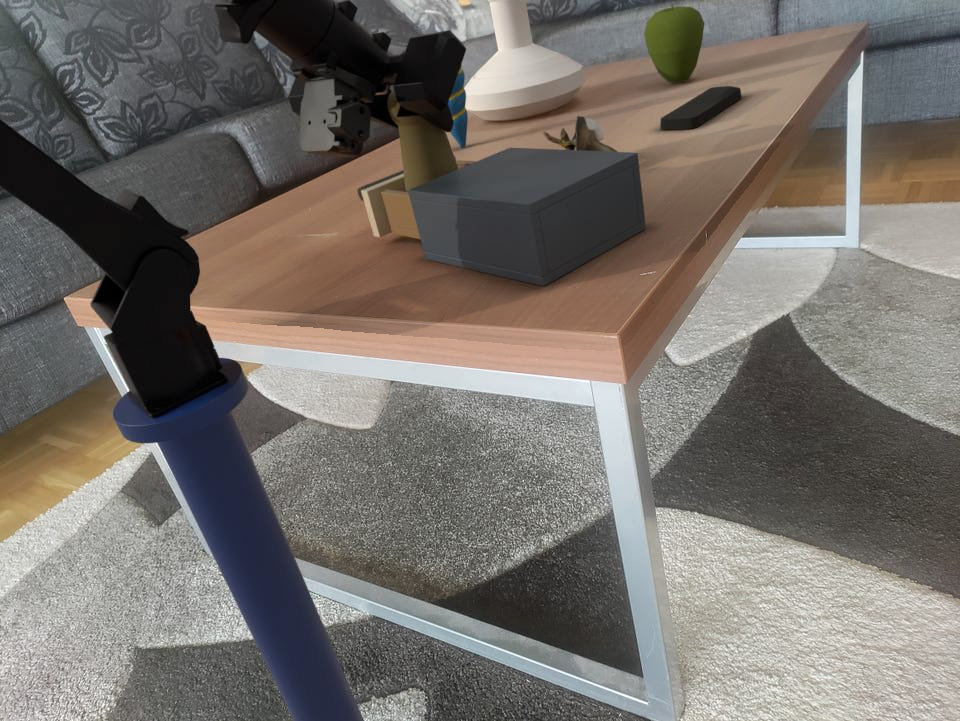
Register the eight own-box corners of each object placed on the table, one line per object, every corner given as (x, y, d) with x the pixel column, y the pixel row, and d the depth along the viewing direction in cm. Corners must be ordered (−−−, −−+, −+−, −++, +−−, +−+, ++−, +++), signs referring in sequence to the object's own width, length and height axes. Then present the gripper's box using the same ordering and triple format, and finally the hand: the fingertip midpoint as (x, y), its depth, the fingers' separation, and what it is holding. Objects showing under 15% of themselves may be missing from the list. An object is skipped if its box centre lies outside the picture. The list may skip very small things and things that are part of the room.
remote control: (695, 133, 91) (744, 96, 100) (694, 118, 90) (743, 82, 99) (658, 134, 94) (708, 98, 103) (656, 120, 93) (707, 85, 102)
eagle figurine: (532, 167, 86) (565, 164, 78) (550, 105, 85) (585, 95, 77) (589, 187, 89) (627, 186, 80) (607, 127, 88) (647, 120, 79)
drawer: (349, 231, 80) (336, 187, 78) (432, 195, 86) (422, 153, 83) (463, 255, 66) (450, 202, 63) (553, 210, 71) (545, 160, 69)
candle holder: (563, 120, 111) (540, -24, 102) (446, 134, 120) (416, 4, 111) (604, 89, 126) (587, -39, 117) (497, 104, 135) (474, -13, 126)
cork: (416, 214, 71) (387, 94, 66) (400, 202, 77) (372, 90, 72) (475, 196, 73) (450, 78, 68) (456, 186, 78) (432, 75, 73)
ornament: (487, 142, 109) (464, 31, 102) (462, 153, 106) (437, 40, 99) (462, 142, 112) (438, 35, 105) (437, 153, 109) (412, 44, 102)
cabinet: (425, 259, 70) (407, 190, 67) (522, 212, 76) (510, 147, 73) (543, 286, 58) (528, 204, 55) (646, 228, 65) (637, 152, 62)
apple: (639, 90, 119) (631, 12, 114) (670, 77, 123) (664, 1, 118) (686, 88, 113) (680, 5, 107) (717, 74, 117) (713, -7, 112)
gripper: (212, 123, 65) (341, 203, 77) (352, 112, 54) (479, 208, 66) (256, 9, 67) (376, 105, 79) (401, -26, 55) (517, 93, 67)
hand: (431, 128), depth 73 cm, fingers closed on cork, 5 cm apart
